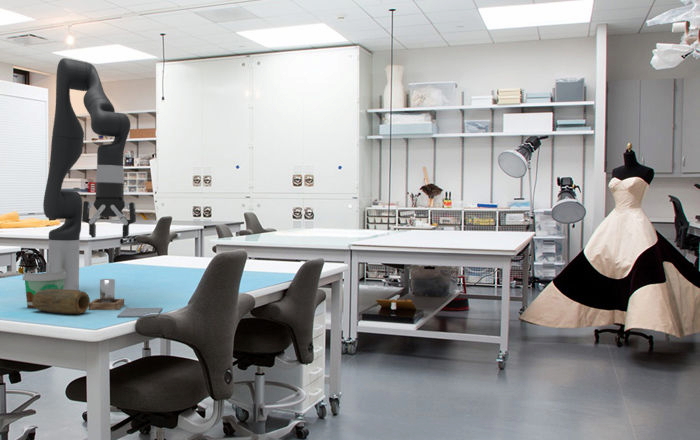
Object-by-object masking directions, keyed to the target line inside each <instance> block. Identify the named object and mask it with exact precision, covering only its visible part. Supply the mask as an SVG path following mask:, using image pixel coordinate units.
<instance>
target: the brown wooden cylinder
mask: <svg viewBox="0 0 700 440" xmlns="http://www.w3.org/2000/svg"><path fill="white" fill-rule="evenodd" d="M90 302H91V300H90V295H89V294H88V293H87V292H86V291H83V290H80V289H79V290H69V289H47V290H42V291H39V292H37V293H36V294H35V295H34V296H33V299H32V304H33V307H34V308H33V309H36V310H38V311H42V312H46V313H52V314H53V313H55V314H64V315H65V314H67V315H68V314H69V315H79V314H80V315H81V314H84V313H85V312H86V311H87V310H89V304H90Z"/></svg>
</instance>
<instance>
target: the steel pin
mask: <svg viewBox="0 0 700 440" xmlns="http://www.w3.org/2000/svg"><path fill="white" fill-rule="evenodd" d="M115 282H116V280H115V279H113V278H102V279H99V299H100V303H114V299H116V297H115V295H116V294H115V293H116V292H115V290H116V289H115V288H116V287H115V286H116V283H115Z"/></svg>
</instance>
